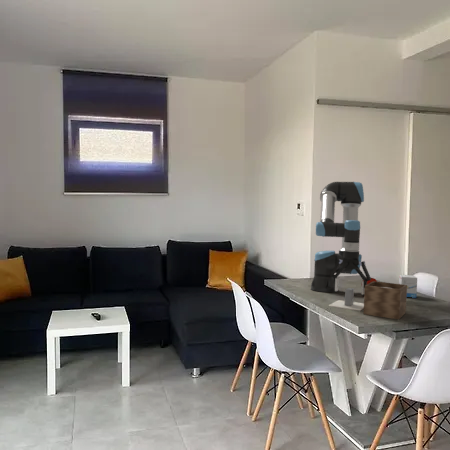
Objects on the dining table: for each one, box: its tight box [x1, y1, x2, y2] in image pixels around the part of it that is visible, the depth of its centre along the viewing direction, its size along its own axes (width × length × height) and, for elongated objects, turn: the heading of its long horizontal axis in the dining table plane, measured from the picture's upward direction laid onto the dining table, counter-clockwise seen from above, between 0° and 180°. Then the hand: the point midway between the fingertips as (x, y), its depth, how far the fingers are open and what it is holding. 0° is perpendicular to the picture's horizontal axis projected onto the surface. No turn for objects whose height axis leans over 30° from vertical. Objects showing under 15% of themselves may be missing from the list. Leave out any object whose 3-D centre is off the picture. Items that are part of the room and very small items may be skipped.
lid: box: [328, 287, 364, 312], centre depth 238 cm, size 16×16×9 cm
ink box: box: [398, 274, 418, 299], centre depth 267 cm, size 8×8×12 cm
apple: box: [360, 277, 378, 287], centre depth 264 cm, size 9×8×11 cm
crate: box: [363, 280, 407, 320], centre depth 223 cm, size 16×16×14 cm
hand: (349, 292), depth 238 cm, fingers open, 13 cm apart
